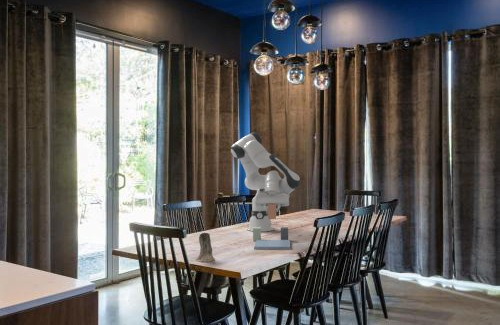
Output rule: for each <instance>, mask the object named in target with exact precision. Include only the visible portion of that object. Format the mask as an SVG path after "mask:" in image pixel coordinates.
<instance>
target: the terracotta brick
mask: <svg viewBox="0 0 500 325" xmlns="http://www.w3.org/2000/svg"><path fill="white" fill-rule="evenodd" d="M276 208H277V206H276V204H268V219H271V220H277V212H276Z"/></svg>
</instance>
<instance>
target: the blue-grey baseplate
mask: <svg viewBox="0 0 500 325" xmlns="http://www.w3.org/2000/svg"><path fill="white" fill-rule="evenodd" d="M290 241H291V239H288V240H281V239H261V240H256V241H255V244H254V245H253V249H254V250H291V242H290Z"/></svg>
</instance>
